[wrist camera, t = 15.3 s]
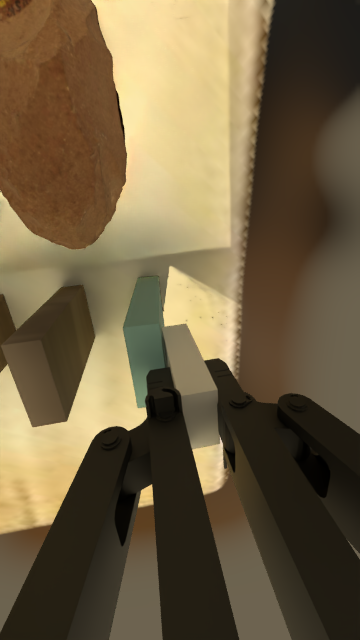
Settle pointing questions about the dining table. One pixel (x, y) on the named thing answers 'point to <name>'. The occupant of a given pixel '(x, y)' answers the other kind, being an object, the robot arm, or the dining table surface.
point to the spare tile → (144, 334)
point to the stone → (59, 120)
